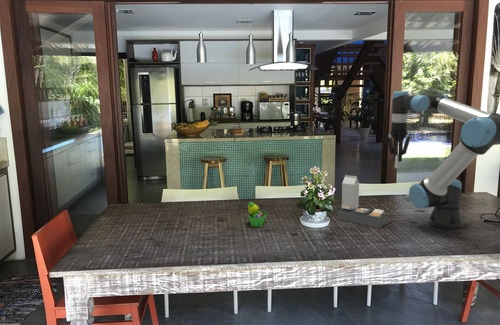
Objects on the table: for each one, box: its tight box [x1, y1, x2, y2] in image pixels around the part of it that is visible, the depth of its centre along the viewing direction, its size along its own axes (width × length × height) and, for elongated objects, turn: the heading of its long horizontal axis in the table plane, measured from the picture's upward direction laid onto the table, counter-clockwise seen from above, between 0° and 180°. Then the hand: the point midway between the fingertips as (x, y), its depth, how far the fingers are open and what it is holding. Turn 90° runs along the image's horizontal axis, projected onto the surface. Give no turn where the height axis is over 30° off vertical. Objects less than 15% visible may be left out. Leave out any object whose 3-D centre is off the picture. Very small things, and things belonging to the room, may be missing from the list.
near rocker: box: [370, 208, 385, 218], centre depth 200 cm, size 4×6×1 cm
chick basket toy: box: [247, 201, 267, 228], centre depth 204 cm, size 11×9×11 cm
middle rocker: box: [355, 207, 370, 213], centre depth 205 cm, size 4×6×1 cm
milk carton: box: [341, 174, 360, 209], centre depth 228 cm, size 7×7×19 cm
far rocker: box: [341, 205, 355, 210], centre depth 211 cm, size 4×6×1 cm
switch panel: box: [336, 207, 389, 229], centre depth 206 cm, size 23×10×5 cm, turn 47°
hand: (397, 167), depth 208 cm, fingers closed
